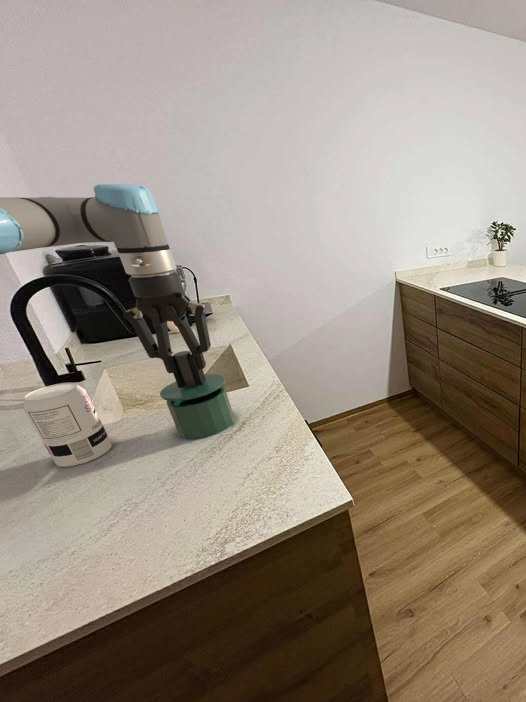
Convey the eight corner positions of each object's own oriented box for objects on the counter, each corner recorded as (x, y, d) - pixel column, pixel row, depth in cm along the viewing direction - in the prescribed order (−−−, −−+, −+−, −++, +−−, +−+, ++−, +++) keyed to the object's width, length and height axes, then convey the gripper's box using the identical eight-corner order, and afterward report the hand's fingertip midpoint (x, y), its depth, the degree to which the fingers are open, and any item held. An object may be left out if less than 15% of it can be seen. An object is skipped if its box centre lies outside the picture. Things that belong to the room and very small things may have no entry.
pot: (172, 445, 79) (158, 411, 75) (188, 420, 88) (176, 388, 84) (229, 435, 82) (218, 401, 79) (239, 412, 91) (229, 381, 88)
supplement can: (47, 465, 73) (7, 398, 67) (97, 441, 81) (65, 378, 75) (74, 473, 71) (35, 404, 65) (123, 447, 78) (92, 384, 72)
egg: (187, 331, 147) (181, 313, 144) (174, 335, 143) (168, 316, 140) (180, 330, 149) (174, 312, 146) (167, 333, 145) (161, 315, 142)
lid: (152, 408, 74) (135, 368, 71) (173, 383, 84) (159, 347, 81) (218, 397, 78) (206, 359, 74) (231, 375, 88) (220, 340, 84)
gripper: (89, 281, 65) (140, 398, 75) (196, 274, 70) (231, 385, 80) (111, 273, 72) (155, 382, 81) (207, 267, 77) (238, 371, 86)
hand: (192, 383), depth 80 cm, fingers closed on lid, 3 cm apart
